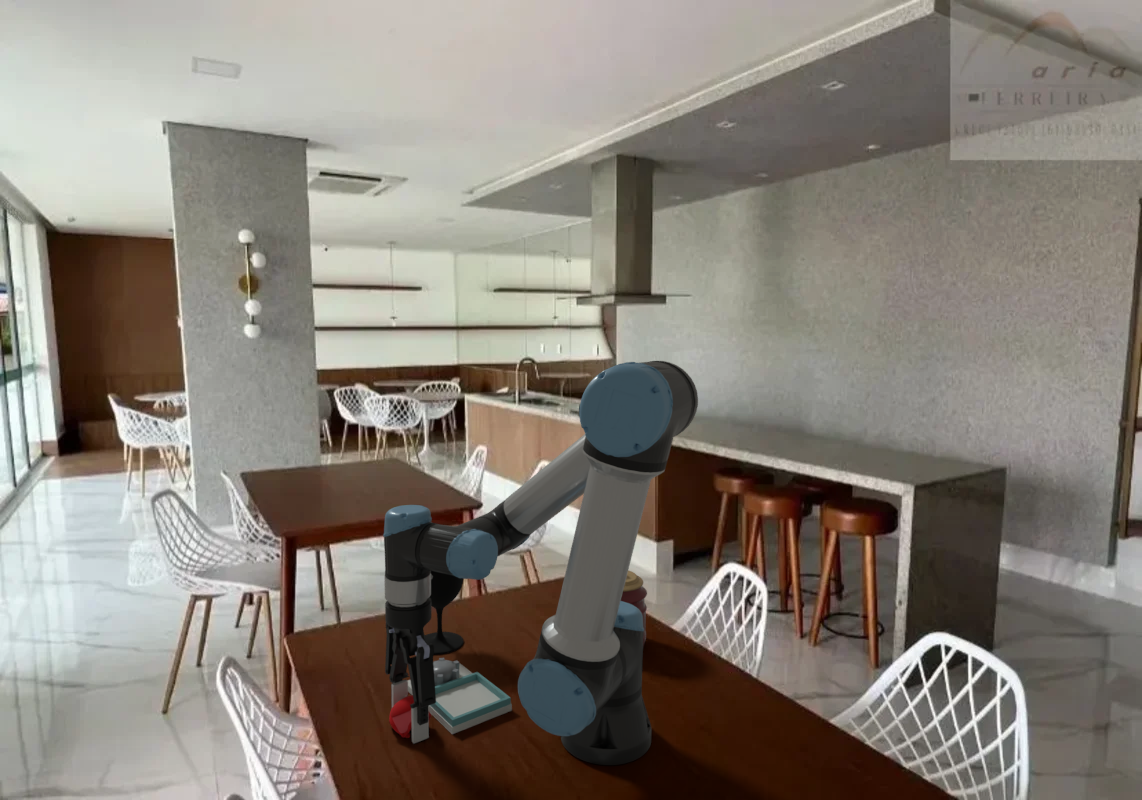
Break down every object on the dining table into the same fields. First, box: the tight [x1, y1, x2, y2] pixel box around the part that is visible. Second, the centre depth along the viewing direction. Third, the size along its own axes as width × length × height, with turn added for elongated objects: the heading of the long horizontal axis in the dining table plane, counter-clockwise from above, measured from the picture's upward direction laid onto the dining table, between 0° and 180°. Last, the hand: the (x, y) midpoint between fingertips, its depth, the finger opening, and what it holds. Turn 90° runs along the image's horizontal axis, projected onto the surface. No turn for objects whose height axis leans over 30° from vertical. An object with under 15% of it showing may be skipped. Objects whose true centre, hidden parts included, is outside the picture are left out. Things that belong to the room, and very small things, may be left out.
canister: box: [621, 570, 648, 648], centre depth 147 cm, size 13×13×18 cm
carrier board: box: [407, 657, 513, 735], centre depth 124 cm, size 19×12×4 cm, turn 38°
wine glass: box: [424, 571, 465, 656], centre depth 146 cm, size 10×10×20 cm
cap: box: [388, 694, 432, 739], centre depth 115 cm, size 8×6×6 cm
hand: (409, 728), depth 115 cm, fingers closed on cap, 7 cm apart
